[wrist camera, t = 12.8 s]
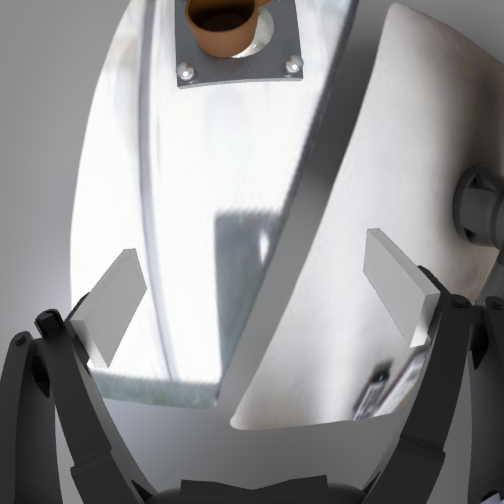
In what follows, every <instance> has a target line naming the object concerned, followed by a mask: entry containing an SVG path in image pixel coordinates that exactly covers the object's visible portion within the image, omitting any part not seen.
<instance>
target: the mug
mask: <svg viewBox="0 0 504 504" xmlns="http://www.w3.org/2000/svg"><path fill="white" fill-rule="evenodd" d="M270 1H272V0H187V1H186V4H185V17H186V21H187V24H188V27H189V29H190V31H191V33H192V35H193V37H194V39H195V41H196V42H197V44H198V46H199V47H200V48H201V49H202V50H203V51H204V52H206V53H207V54H209V55H212V56H215V57H224V58H225V57H232V56H235V55H238V54H240V53H242V52H243V51H245V50H246V49H247V48H248V47H249V46H250V45H251V43H252V42H253V39H254V36H255V32H256V27H257V22H258V16H259V8H260V7H262V6H263V5H265V4H267V3H269V2H270Z"/></svg>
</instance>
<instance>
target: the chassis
mask: <svg viewBox="0 0 504 504" xmlns="http://www.w3.org/2000/svg"><path fill="white" fill-rule="evenodd" d="M186 1H187V0H175V41H176V67H177V68H176V73H177V86H178V88H180V89H185V88H192V87H199V86H207V85H217V84H227V83H241V82H259V81H301V80H302V79H303V70H302V66H303V60H302V58H301V49H300V39H299V30H298V22H297V13H296V6H295V0H272V1H270V2H269V3H267V4H265V5H263V6H262V7H260V8H259V16H258V22H257V27H256V32H255V36H254V39H253V42H252V43H251V45H250V46H249V47H248V48H247V49H246V50H245V51H243V52H242V53H240V54H238V55H235V56H232V57H225V58H224V57H215V56H212V55H209V54H207V53H206V52H204V51H203V50H202V49H201V48H200V47H199V46H198V44H197V42H196V41H195V39H194V37H193V35H192V33H191V31H190V29H189V27H188V24H187V21H186V17H185V4H186Z"/></svg>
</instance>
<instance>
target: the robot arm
mask: <svg viewBox="0 0 504 504" xmlns="http://www.w3.org/2000/svg"><path fill="white" fill-rule="evenodd" d="M453 218H454V224H455V227H456V230H457V232H458V233H459V235H460V236H461V237H462V238H463V239H464V240H466V241H468V242H469V243H471V244H473V245H477V246H486V247H495V248H497V249H499V250H500V252H499V255H498V257H497V259H496V262H495V264H494V266H493V268H492V270H491V272H490V274H489V276H488V279H487V281H486V283H485V285H484V287H483V288H482V290H481V292H480V294H479V296H478V298H477V300H475V302H474V304H473V305H471V302H470V301H469V300H468V299H467V298H465V297H463V296H461V295H456V294H452V295H451V293H450V292H449V291H448V290H447V289H446V288H445V287H444V286H443V285H442V284H441V283H440V281H438V279H437V278H436V277H434V275H433V274H432V273H431V272H430V271H429V270H428V269H426V268H424V267H422V266H421V265H420V266H416V265H415V264H414V263H413V262H412V261H411V260H410V259H409V258H408V257H407V256H406V254H405V253H404V252H403V251H402V250H401V249H400V248H399V247H398V246H397V245H396V244H395V243H394V242H393V241H392V240H391V239H390V238H389V237H388V236H387V235H386V234H385V233H384V232H382V231H381V230H380V229H379V228H375V229H367V237H366V249H365V260H364V269H363V272H364V274H365V275H366V277H367V278H368V280H369V282H370V283H371V285H372V286H373V288H374V289H375V291H376V293H377V294H378V296H379V297H380V299H381V301H382V302H383V304H384V305H385V307H386V309H387V310H388V312H389V314H390V315H391V317H392V319H393V320H394V322H395V324H396V325H397V327H398V329H399V330H400V332H401V334H402V336H403V337H404V339H405V341H406V343H407V344H408V346H409V348H411V347H415V346H419V345H423V344H424V342H425V339H426V337H427V334H428V335H429V337H430V338H431V342H430V345H429V347H428V350H427V352H426V355H425V357H424V358H425V360H424V363H423V366H422V369H421V372H420V374H419V377H418V380H417V382H416V385H415V388H414V390H413V393H412V395H411V398H410V400H409V402H408V405H407V407H406V410H405V412H404V414H403V416H402V418H401V421H400V423H399V425H398V427H397V429H396V431H395V433H394V435H393V437H392V439H391V441H390V443H389V445H388V447H387V449H386V451H385V453H384V454H383V456H382V458H381V460H380V462H379V463H378V465H377V467H376V469H375V470H374V472H373V474H372V475H371V476H370V478H369V480H368V481H367V483H366V484H365V485H364V487H363V488H362V490H359V489H358V488H355V487H353V486H350V485H346V484H343V483H337V482H327V476H326V475H322V476H315V477H308V478H300V479H291V480H287V481H284V482H281V483H278V484H274V485H271V486H267V487H264V488H260V489H255V490H250V489H244V488H240V487H235V486H231V485H226V484H222V483H218V482H206V481H191V480H182V481H181V487H176V488H172V489H168V490H165V491H162V492H160V493H158V492H157V491H156V490H155V489H154V488H153V486H152V485H151V484H150V483H149V482H148V480H147V479H146V477H145V476H144V474H143V473H142V472H141V470H140V468H139V467H138V465H137V463H136V462H135V460H134V458H133V457H132V455H131V454H130V452H129V450H128V448H127V446H126V445H125V443H124V441H123V439H122V437H121V436H120V434H119V432H118V430H117V428H116V426H115V424H114V422H113V420H112V418H111V416H110V414H109V412H108V410H107V408H106V406H105V404H104V402H103V399H102V397H101V395H100V393H99V390H98V388H97V386H96V383H95V381H94V379H93V376H92V374H91V371H90V369H89V367H88V366H87V362H88V360H89V358H90V360H91V361H92V363H93V365H94V366H95V367H99V368H109V366H110V364H111V362H112V359H113V357H114V355H115V353H116V351H117V348H118V346H119V344H120V342H121V340H122V338H123V336H124V334H125V332H126V330H127V328H128V326H129V323H130V321H131V319H132V317H133V315H134V313H135V311H136V309H137V307H138V306H139V304H140V302H141V300H142V298H143V296H144V294H145V292H146V290H147V287H146V284H145V281H144V277H143V274H142V270H141V267H140V263H139V260H138V256H137V252H136V248H134V249H124V250H123V251H122V253H121V254H120V255H119V256H118V257H117V259H116V260H115V261H114V262H113V264H112V265H111V266H110V267H109V269H108V270H107V271H106V272H105V274H104V275H103V276H102V277H101V279H100V280H99V281H98V282H97V284H96V285H95V286H94V288H93V289H92V290H91V292H88V293H87V294H86V295H84V296H83V297H82V298H81V299H80V300H79V302H78V303H77V305H76V306H75V307H74V308H73V310H72V311H71V312H70V314H69V315H68V317H67V318H66V319H65V321H64V322H63V320H62V318H61V316H60V314H59V312H58V310H56V309H49V310H46V311H44V312H42V313H41V314H40V315H38V316H37V318H36V319H35V322H34V323H35V326H36V327H37V329H38V331H39V333H40V334H41V336H42V338H38V339H33V337H32V335H31V334H30V333H29V332H27V331H24V332H21V333H18V334H17V335H15V336H14V338H13V339H12V340H11V342H10V345H9V349H8V352H7V356H6V359H5V363H4V367H3V371H2V376H1V380H0V504H63V501H62V495H61V489H60V482H59V474H58V465H57V455H56V437H55V405H56V408H57V412H58V416H59V419H60V422H61V426H62V429H63V432H64V436H65V439H66V441H67V445H68V447H69V450H70V453H71V456H72V458H73V461H74V464H75V465H74V466H73V467H71V470H70V471H71V475H72V478H73V480H74V483H75V485H76V487H77V490H78V492H79V494H80V496H81V499H82V501H83V503H84V504H426V503H427V500H428V498H429V496H430V494H431V492H432V490H433V487H434V485H435V483H436V480H437V478H438V476H439V473H440V470H441V468H442V465H443V463H444V459H445V452H444V451H443V447H444V444H445V441H446V438H447V435H448V432H449V428H450V425H451V422H452V418H453V415H454V411H455V407H456V404H457V399H458V395H459V391H460V387H461V382H462V377H463V371H464V366H465V361H466V355H467V357H468V365H469V376H470V386H471V403H472V450H471V466H470V476H469V486H468V504H504V176H503V175H502V174H501V173H500V172H499V171H497V170H496V169H494V168H492V167H489V166H486V165H475V166H473V167H471V168H470V169H469V170H468V171H467V172H466V173H465V174H464V175H463V177H462V178H461V180H460V182H459V184H458V187H457V189H456V193H455V197H454V203H453Z"/></svg>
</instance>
